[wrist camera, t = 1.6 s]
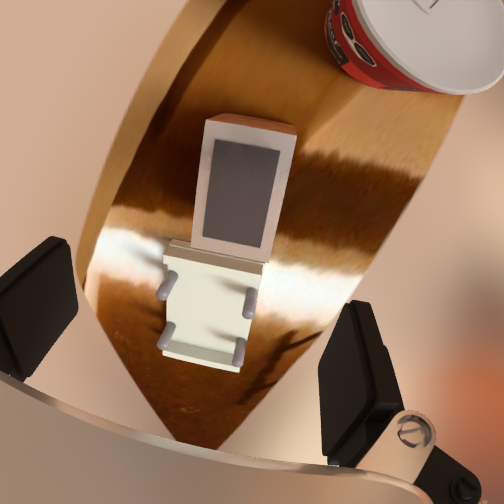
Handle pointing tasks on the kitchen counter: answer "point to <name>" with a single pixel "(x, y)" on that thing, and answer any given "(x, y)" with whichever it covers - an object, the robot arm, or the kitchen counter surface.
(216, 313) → the tray
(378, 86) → the canned food
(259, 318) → the kitchen counter surface
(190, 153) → the kitchen counter surface
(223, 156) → the box
